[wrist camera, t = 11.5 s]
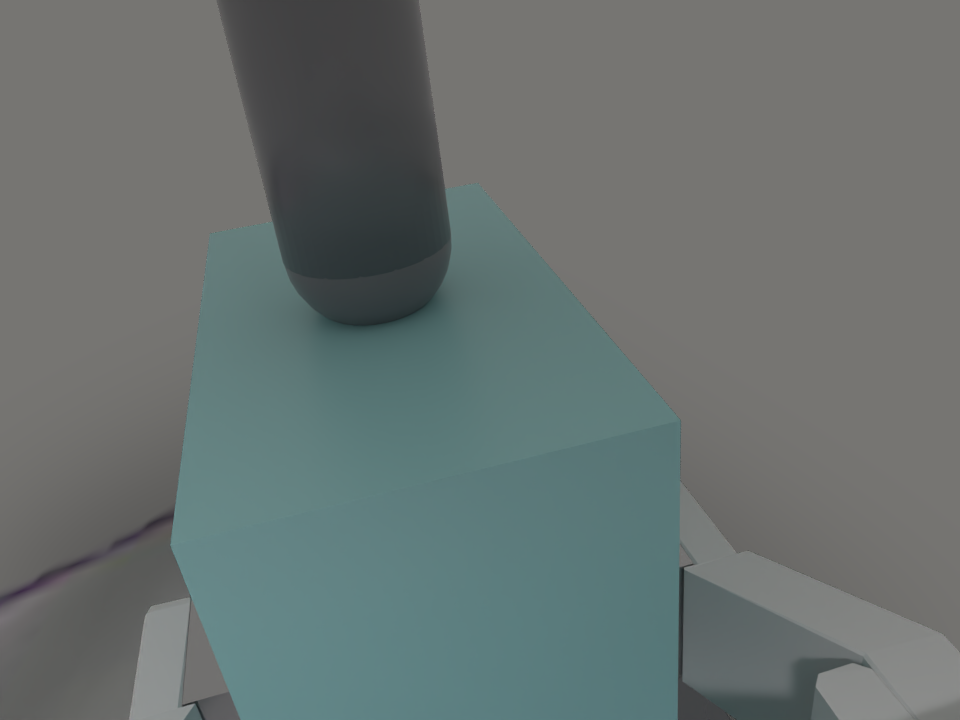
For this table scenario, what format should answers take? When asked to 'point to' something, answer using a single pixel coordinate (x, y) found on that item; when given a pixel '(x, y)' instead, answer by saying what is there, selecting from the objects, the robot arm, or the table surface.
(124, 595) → the table surface
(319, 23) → the plug
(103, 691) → the table surface
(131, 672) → the table surface
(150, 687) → the robot arm
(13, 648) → the table surface
